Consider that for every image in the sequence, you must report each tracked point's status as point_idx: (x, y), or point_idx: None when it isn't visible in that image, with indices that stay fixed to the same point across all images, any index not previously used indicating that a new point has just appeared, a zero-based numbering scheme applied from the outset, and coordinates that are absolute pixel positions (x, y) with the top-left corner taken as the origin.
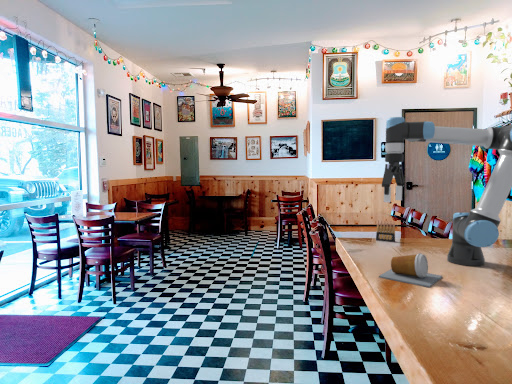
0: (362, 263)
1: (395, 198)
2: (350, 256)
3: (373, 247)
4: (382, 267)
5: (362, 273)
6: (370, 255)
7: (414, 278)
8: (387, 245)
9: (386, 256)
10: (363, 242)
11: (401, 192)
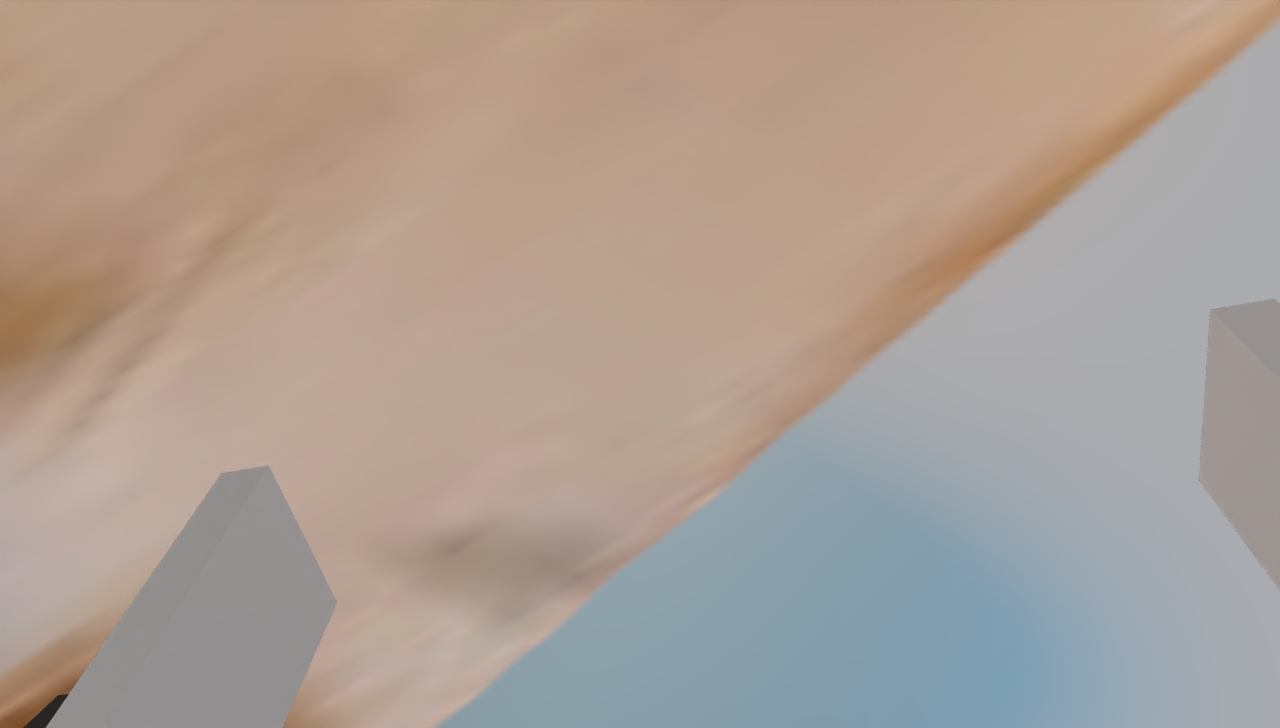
0: (892, 253)
1: (323, 631)
2: (739, 469)
3: None
4: (881, 30)
5: (1272, 15)
6: (540, 388)
7: None
8: (41, 518)
9: (430, 274)
10: None
11: (152, 652)
